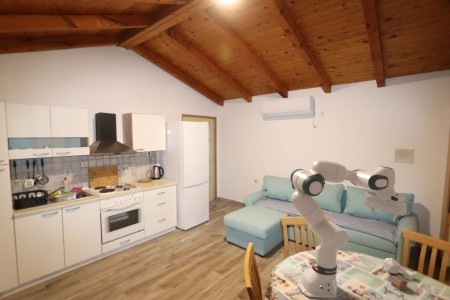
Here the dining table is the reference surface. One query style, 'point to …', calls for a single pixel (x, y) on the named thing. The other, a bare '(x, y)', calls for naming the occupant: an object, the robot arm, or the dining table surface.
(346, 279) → the dining table surface
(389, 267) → the die
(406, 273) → the sage block
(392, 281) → the walnut block
